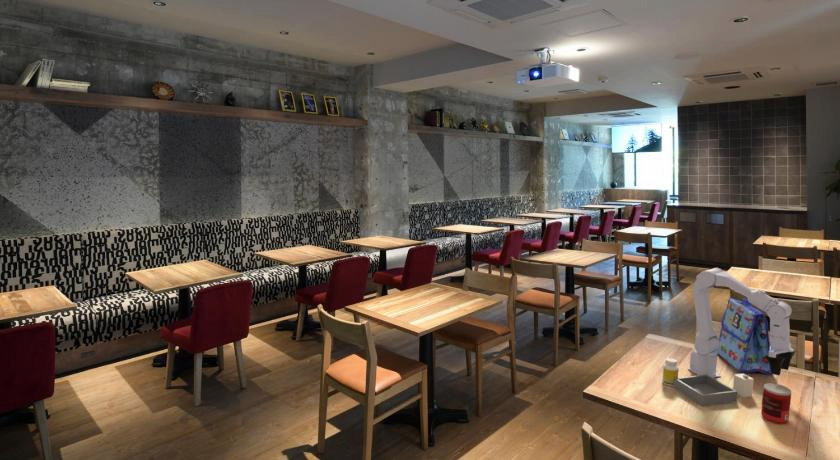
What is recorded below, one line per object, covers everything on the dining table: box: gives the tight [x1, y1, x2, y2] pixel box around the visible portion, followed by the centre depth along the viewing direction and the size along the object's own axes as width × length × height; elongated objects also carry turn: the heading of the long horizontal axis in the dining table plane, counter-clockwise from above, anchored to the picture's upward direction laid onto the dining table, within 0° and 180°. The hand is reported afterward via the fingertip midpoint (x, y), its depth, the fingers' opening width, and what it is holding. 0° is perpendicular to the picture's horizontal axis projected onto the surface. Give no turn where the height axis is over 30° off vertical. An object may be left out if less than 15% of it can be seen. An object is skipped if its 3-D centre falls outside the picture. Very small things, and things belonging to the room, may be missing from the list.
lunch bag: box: [717, 297, 774, 376], centre depth 208 cm, size 22×14×29 cm, turn 172°
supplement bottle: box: [661, 357, 680, 387], centre depth 192 cm, size 5×5×10 cm
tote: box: [673, 374, 738, 407], centre depth 183 cm, size 15×15×4 cm
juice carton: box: [732, 373, 754, 398], centre depth 182 cm, size 5×4×8 cm
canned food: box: [760, 382, 792, 425], centre depth 165 cm, size 8×8×11 cm
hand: (780, 371), depth 178 cm, fingers open, 7 cm apart
